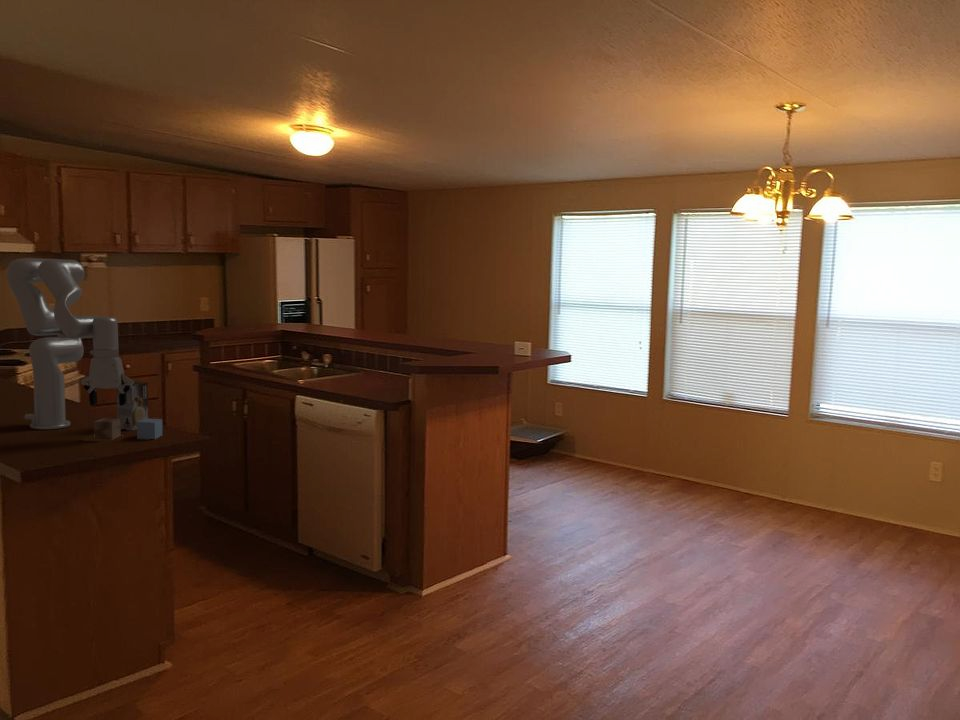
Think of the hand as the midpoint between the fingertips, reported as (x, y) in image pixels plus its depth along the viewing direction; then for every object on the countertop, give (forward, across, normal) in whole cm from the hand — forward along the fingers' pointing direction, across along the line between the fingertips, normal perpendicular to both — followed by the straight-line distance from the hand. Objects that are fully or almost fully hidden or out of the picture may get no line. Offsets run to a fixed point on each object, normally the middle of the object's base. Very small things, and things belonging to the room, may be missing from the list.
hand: (108, 404), depth 256 cm
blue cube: (+12, +12, +4) cm, 17 cm away
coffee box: (+12, 0, +18) cm, 21 cm away
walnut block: (+11, -1, 0) cm, 11 cm away
